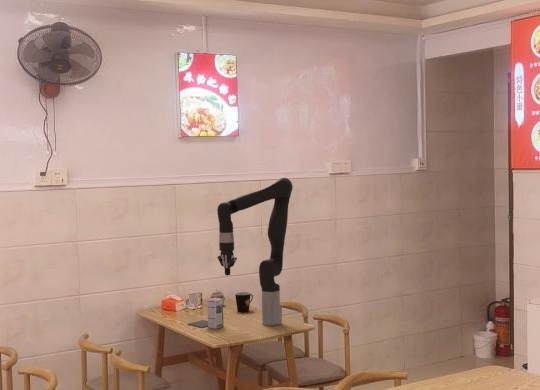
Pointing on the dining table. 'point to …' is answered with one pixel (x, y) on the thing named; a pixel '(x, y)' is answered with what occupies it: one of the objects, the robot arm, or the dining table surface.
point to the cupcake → (218, 295)
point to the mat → (199, 324)
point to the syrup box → (215, 313)
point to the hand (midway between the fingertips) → (227, 275)
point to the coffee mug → (243, 301)
